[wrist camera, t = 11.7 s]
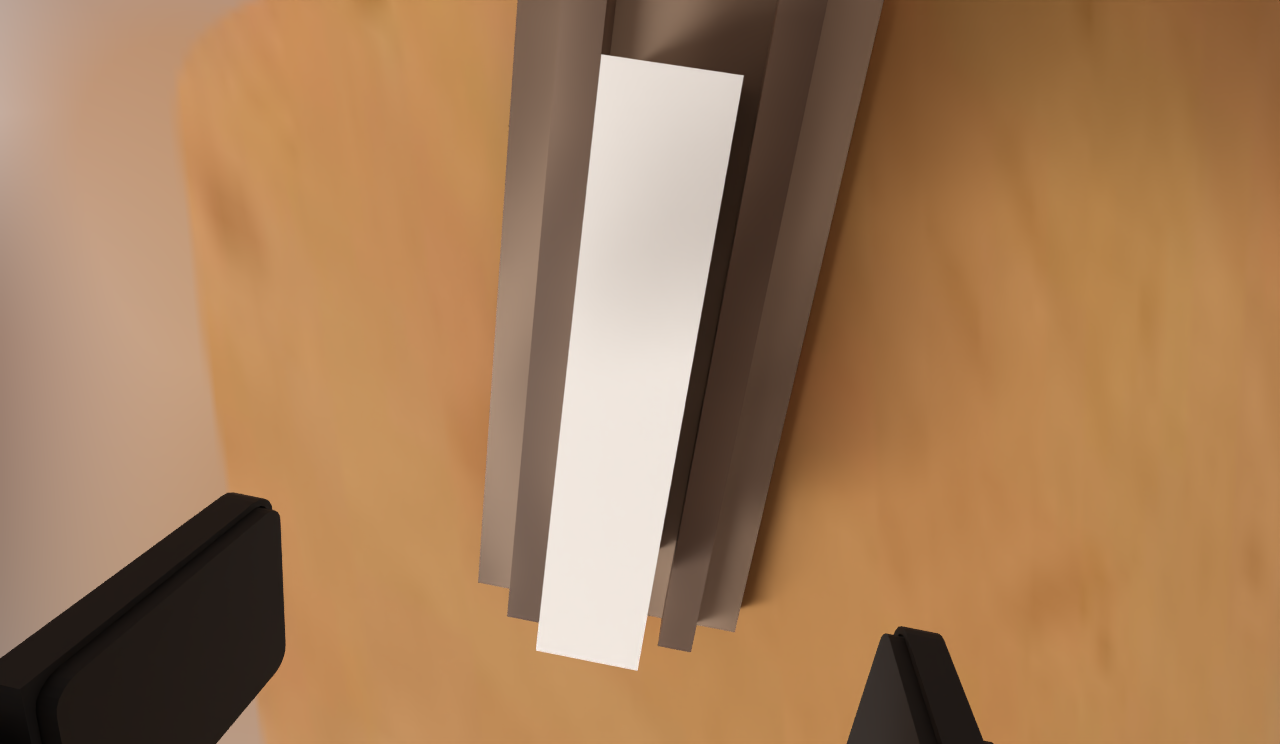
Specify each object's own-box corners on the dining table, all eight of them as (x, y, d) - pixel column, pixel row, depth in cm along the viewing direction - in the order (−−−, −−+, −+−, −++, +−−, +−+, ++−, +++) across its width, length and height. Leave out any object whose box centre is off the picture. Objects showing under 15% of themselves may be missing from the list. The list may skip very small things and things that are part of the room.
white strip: (739, 82, 20) (744, 75, 15) (657, 549, 26) (637, 670, 21) (636, 67, 21) (601, 54, 15) (577, 534, 26) (536, 650, 21)
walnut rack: (881, -14, 20) (900, -29, 18) (734, 614, 28) (734, 660, 26) (531, -62, 21) (506, -83, 18) (486, 566, 29) (464, 608, 26)
